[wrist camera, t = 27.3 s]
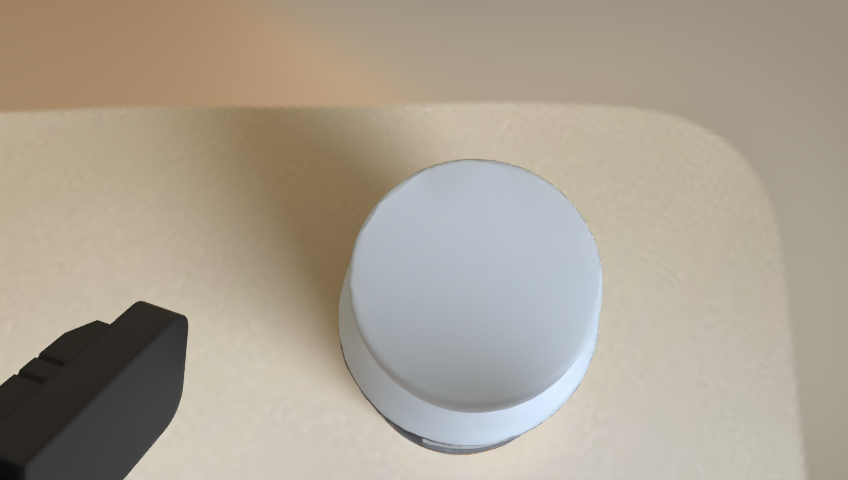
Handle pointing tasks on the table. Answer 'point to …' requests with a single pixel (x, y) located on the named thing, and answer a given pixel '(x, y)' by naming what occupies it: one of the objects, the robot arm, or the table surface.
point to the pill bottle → (470, 305)
